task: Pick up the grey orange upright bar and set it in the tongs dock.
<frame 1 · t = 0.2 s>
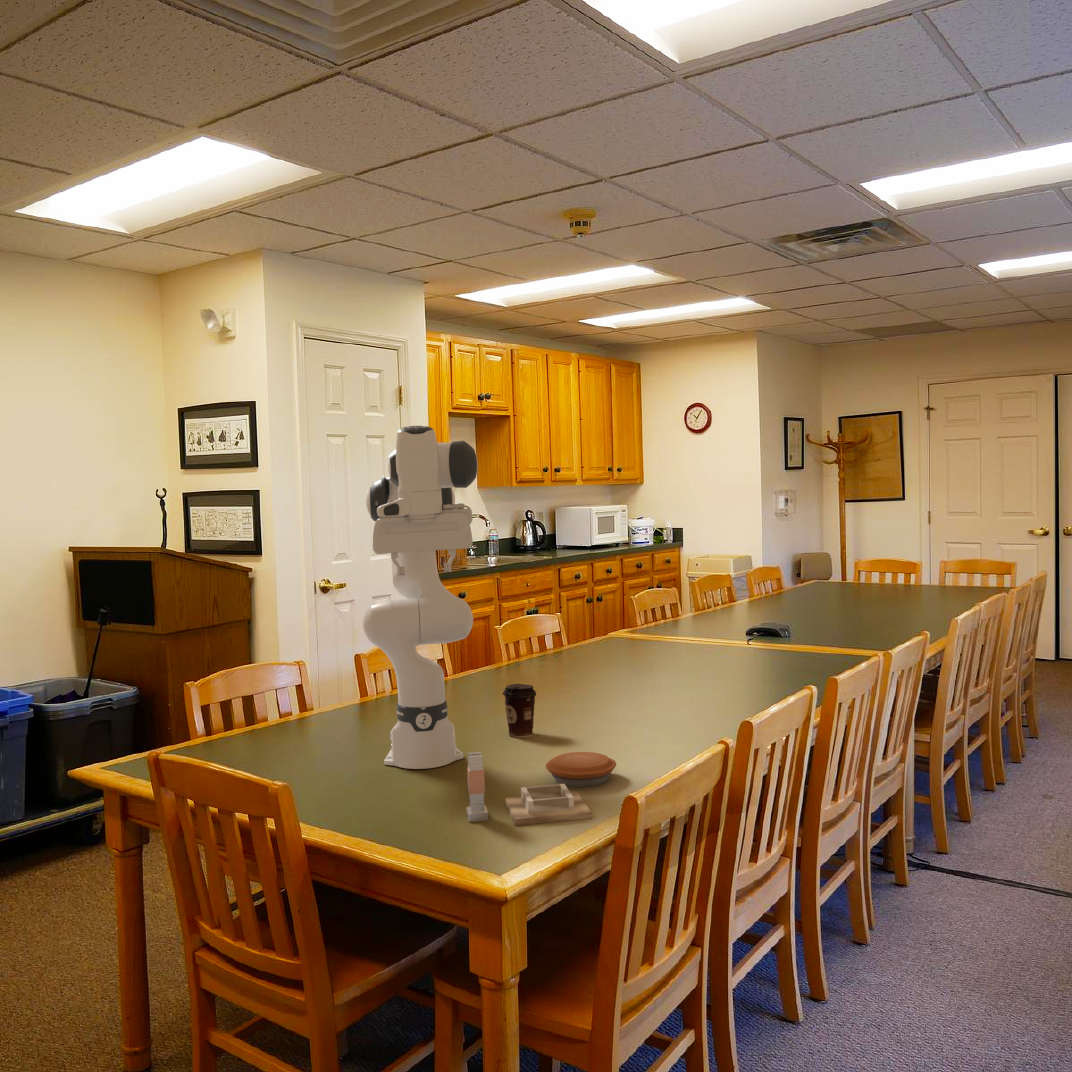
hand: (424, 573, 194), 48 cm above the table, tool pointing down, fingers open, 8 cm apart
tongs dock: (547, 810, 189), on the table
pie: (581, 780, 209), on the table
grey orange upright bar: (477, 817, 187), on the table
coffee cup: (520, 735, 248), on the table
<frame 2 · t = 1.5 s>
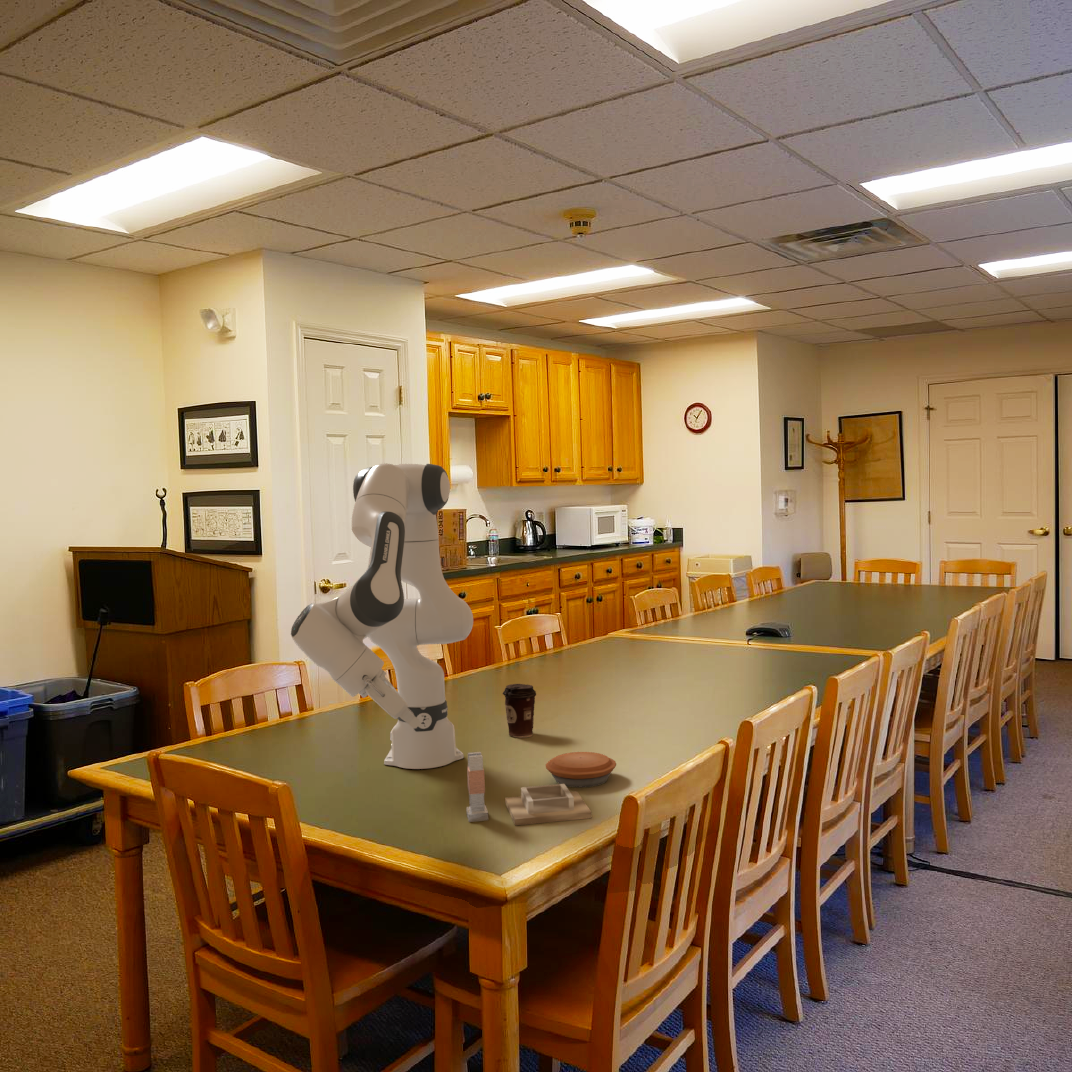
hand: (414, 721, 183), 20 cm above the table, tool tilted 45°, fingers open, 8 cm apart
nothing on the table moved.
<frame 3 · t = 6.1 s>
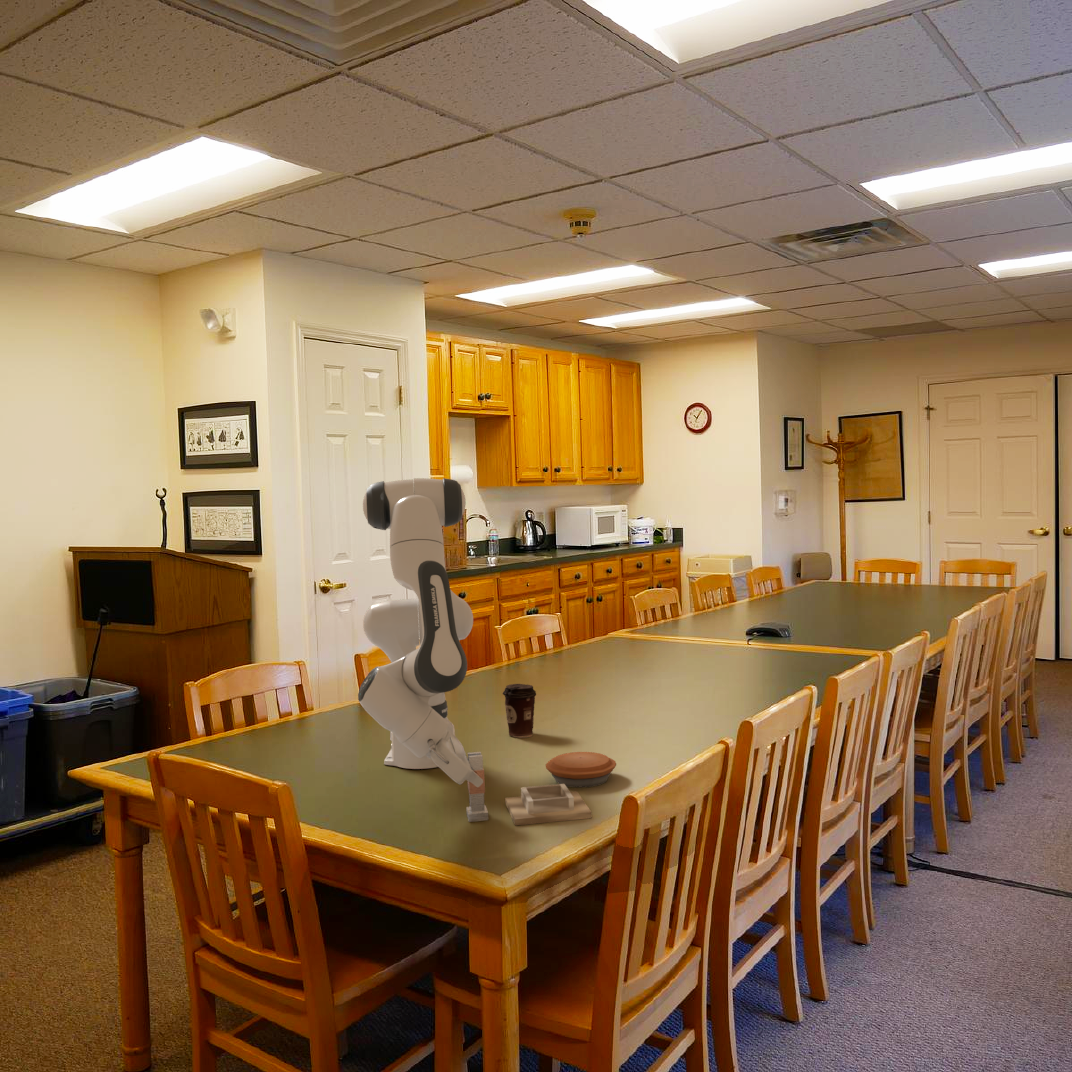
hand: (479, 779, 187), 7 cm above the table, tool tilted 45°, fingers closed on grey orange upright bar, 4 cm apart
grey orange upright bar: (477, 817, 187), on the table, touching gripper
everything else where it was.
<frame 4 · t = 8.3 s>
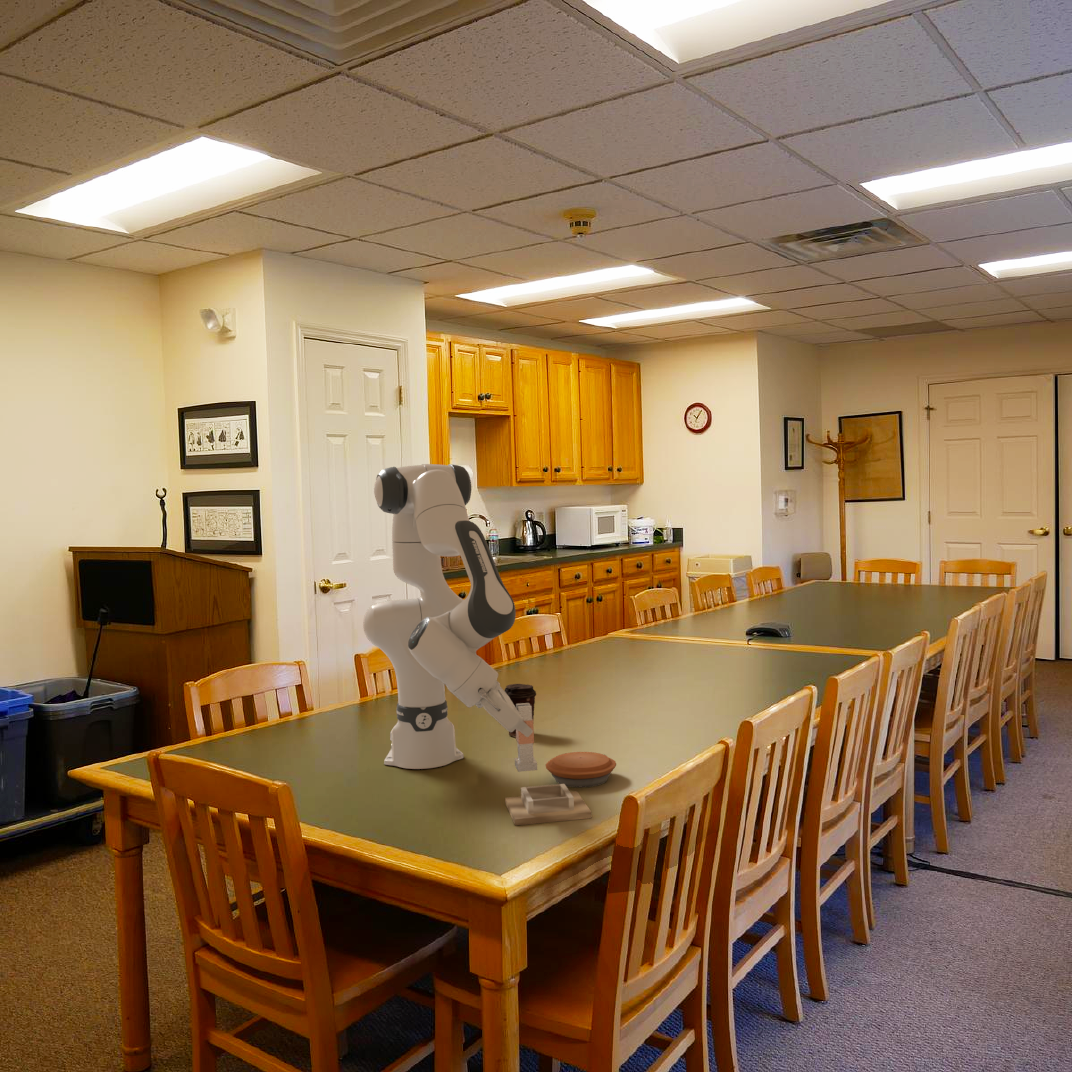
hand: (528, 730, 188), 16 cm above the table, tool tilted 45°, fingers closed on grey orange upright bar, 4 cm apart
grey orange upright bar: (526, 767, 188), point 9 cm above the table, touching gripper
everything else where it was.
when the fingers open (10 cm above the table, at t = 10.9 s): grey orange upright bar drops 1 cm, resting on tongs dock.
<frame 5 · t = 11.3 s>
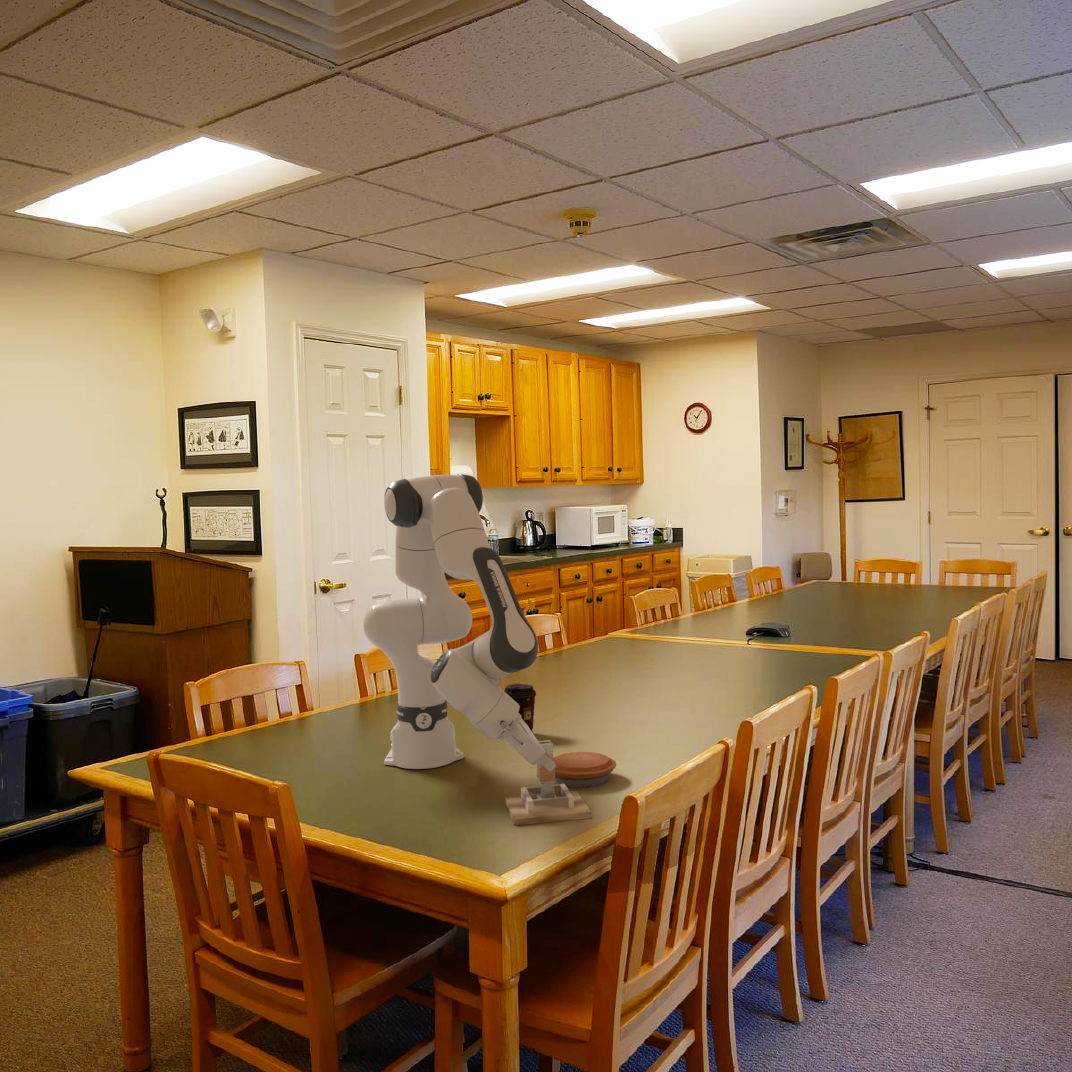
hand: (548, 761, 189), 10 cm above the table, tool tilted 45°, fingers open, 8 cm apart
grey orange upright bar: (546, 804, 189), point 1 cm above the table, touching tongs dock
everything else where it was.
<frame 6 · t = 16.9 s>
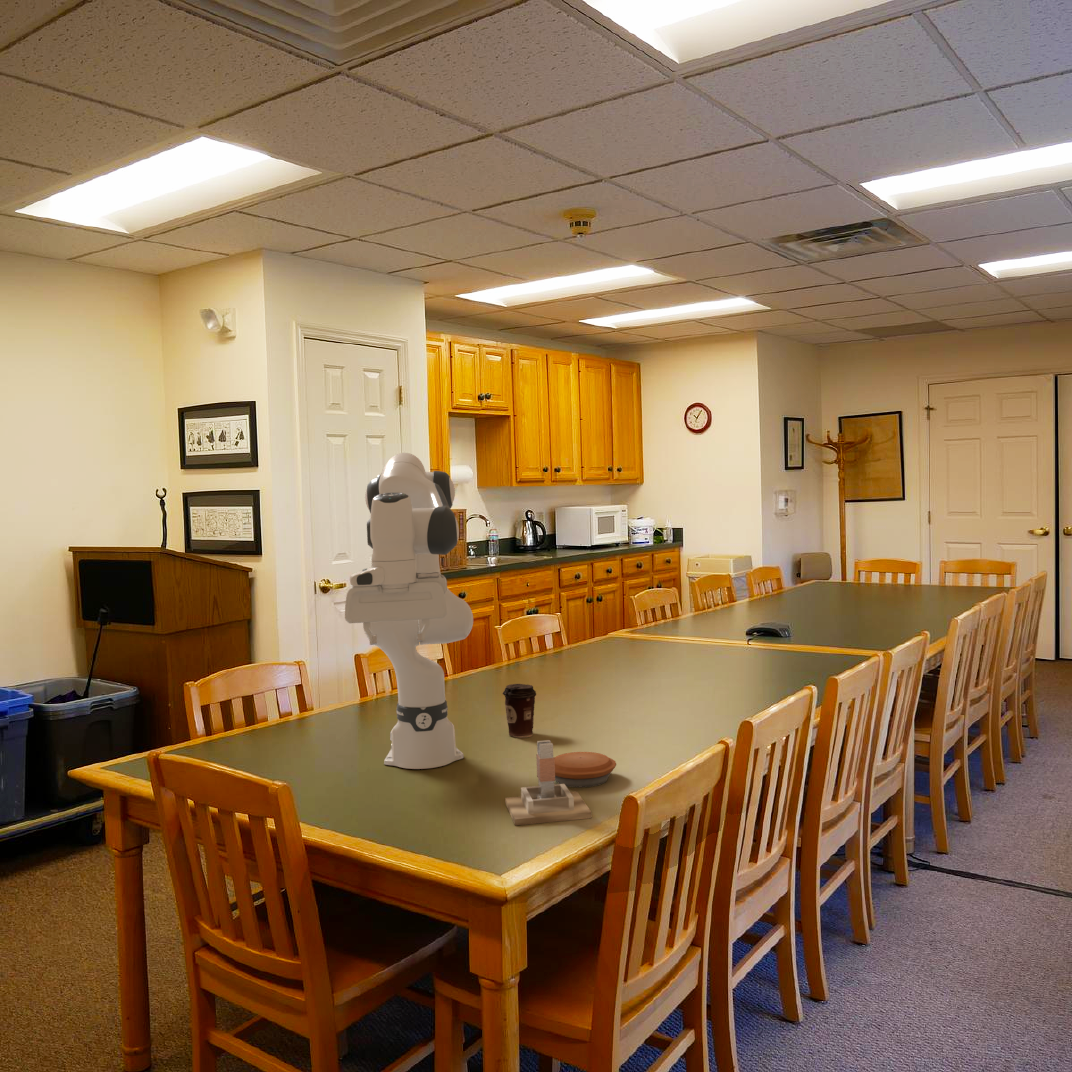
hand: (397, 642, 191), 34 cm above the table, tool pointing down, fingers open, 8 cm apart
nothing on the table moved.
at the end: grey orange upright bar 0.1 cm off-centre on the tongs dock, point 1.2 cm above the tongs dock's base; grey orange upright bar tilted 0°; the gripper is holding nothing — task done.
